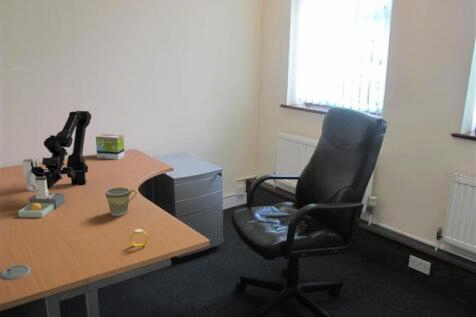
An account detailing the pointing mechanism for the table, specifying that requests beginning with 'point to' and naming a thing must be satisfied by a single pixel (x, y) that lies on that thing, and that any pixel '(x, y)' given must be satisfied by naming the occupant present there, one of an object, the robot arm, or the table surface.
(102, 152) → the tea box
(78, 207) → the table surface
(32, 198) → the launcher deck
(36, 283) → the table surface
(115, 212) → the ceramic cup
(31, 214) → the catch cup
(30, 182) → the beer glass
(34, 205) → the ball
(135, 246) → the watch
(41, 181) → the beige upright block
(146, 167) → the table surface
